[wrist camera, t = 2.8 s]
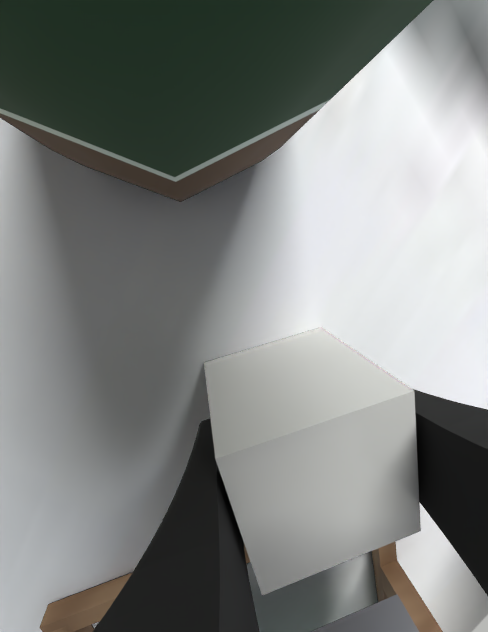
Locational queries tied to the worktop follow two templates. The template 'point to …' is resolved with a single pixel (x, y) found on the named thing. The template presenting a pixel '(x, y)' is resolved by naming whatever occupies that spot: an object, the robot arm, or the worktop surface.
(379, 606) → the trapdoor plate
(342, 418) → the stone block
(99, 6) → the beer bottle
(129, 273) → the worktop surface
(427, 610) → the walnut frame
